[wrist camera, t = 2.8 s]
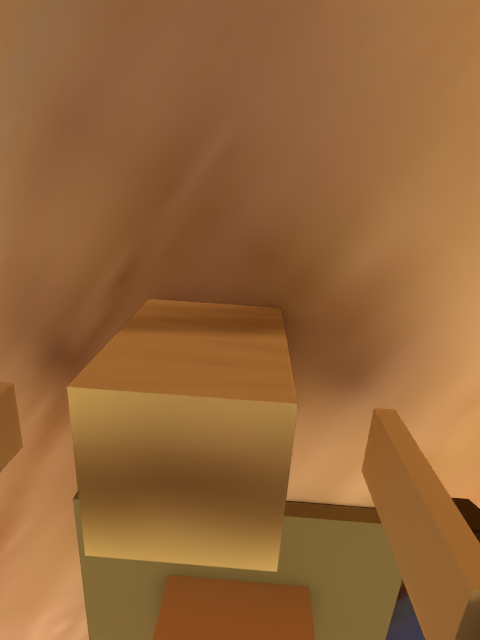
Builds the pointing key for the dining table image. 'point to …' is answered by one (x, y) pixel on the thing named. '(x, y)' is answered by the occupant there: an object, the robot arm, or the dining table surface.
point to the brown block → (186, 436)
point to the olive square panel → (264, 576)
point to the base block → (233, 610)
